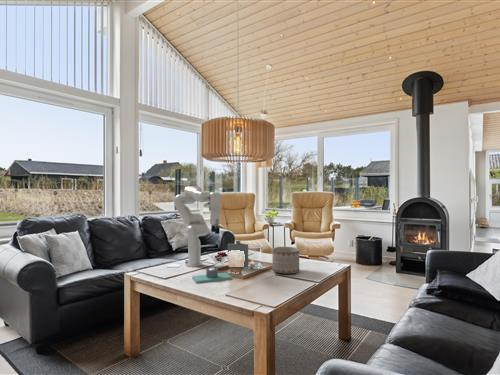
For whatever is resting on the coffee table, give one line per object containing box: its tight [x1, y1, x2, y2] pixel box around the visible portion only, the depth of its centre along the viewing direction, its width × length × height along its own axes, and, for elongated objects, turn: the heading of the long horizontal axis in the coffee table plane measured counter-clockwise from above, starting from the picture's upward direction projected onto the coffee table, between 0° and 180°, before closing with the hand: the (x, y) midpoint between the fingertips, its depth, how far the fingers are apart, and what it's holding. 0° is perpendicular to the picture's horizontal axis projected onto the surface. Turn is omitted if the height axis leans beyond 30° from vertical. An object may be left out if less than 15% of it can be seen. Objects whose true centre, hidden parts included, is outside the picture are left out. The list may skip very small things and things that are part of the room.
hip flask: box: [227, 240, 249, 268], centre depth 248 cm, size 16×4×20 cm, turn 83°
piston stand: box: [192, 267, 233, 284], centre depth 217 cm, size 12×24×6 cm, turn 112°
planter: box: [271, 246, 300, 275], centre depth 233 cm, size 19×19×16 cm
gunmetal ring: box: [205, 267, 219, 278], centre depth 217 cm, size 7×7×5 cm
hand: (215, 232), depth 234 cm, fingers open, 9 cm apart
